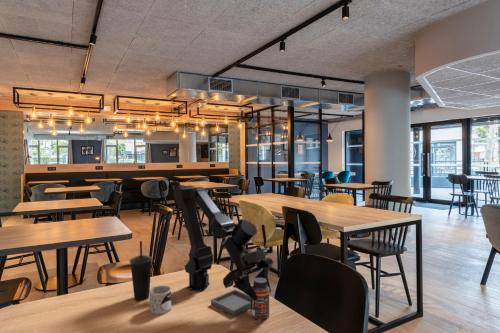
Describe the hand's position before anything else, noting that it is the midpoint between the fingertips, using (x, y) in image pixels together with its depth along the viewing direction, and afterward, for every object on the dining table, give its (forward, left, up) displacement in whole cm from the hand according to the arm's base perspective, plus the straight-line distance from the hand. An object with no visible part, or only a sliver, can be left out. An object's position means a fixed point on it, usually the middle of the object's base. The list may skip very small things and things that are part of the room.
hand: (263, 296), depth 98 cm
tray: (-11, +5, -7) cm, 14 cm away
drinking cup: (-44, +1, -7) cm, 45 cm away
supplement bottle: (-1, +1, -7) cm, 7 cm away
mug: (-33, -3, -7) cm, 34 cm away
